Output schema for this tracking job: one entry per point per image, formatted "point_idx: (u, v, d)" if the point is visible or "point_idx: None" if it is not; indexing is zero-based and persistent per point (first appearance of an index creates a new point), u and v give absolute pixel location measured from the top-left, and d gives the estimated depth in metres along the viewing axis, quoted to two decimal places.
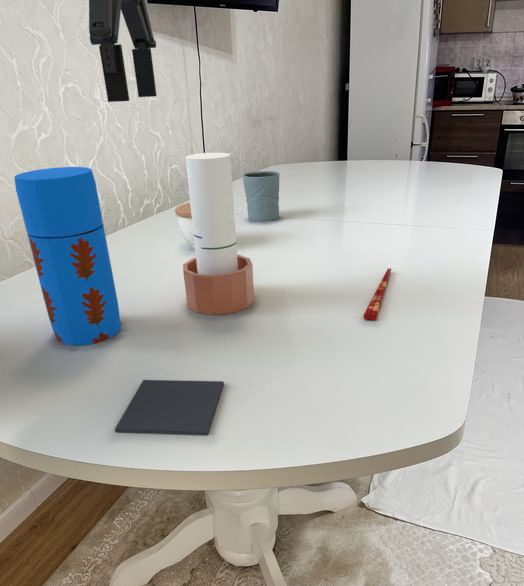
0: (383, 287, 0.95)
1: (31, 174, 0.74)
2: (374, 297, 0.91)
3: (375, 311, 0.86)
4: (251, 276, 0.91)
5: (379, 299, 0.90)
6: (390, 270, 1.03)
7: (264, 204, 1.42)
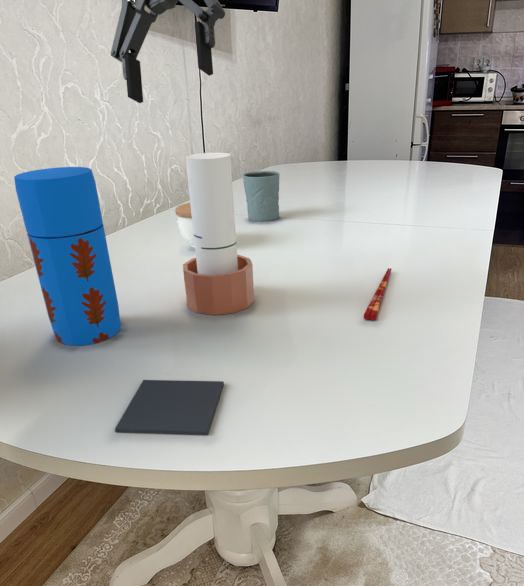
0: (383, 287, 0.95)
1: (31, 174, 0.74)
2: (374, 297, 0.91)
3: (375, 311, 0.86)
4: (251, 276, 0.91)
5: (379, 299, 0.90)
6: (390, 270, 1.03)
7: (264, 204, 1.42)
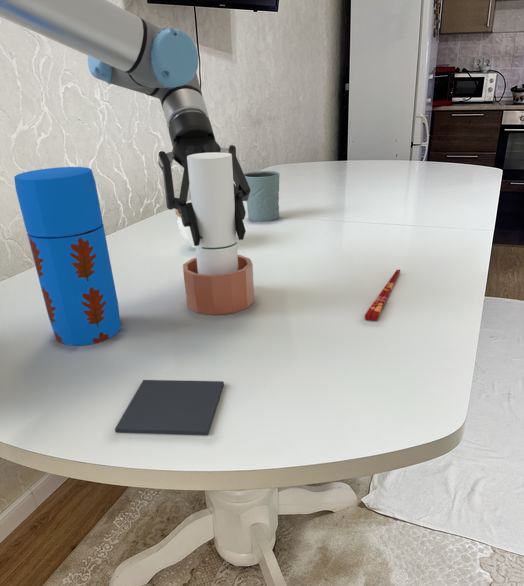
0: (389, 288, 0.95)
1: (31, 174, 0.74)
2: (378, 298, 0.91)
3: (377, 312, 0.86)
4: (251, 276, 0.91)
5: (383, 300, 0.90)
6: (399, 271, 1.03)
7: (264, 204, 1.42)
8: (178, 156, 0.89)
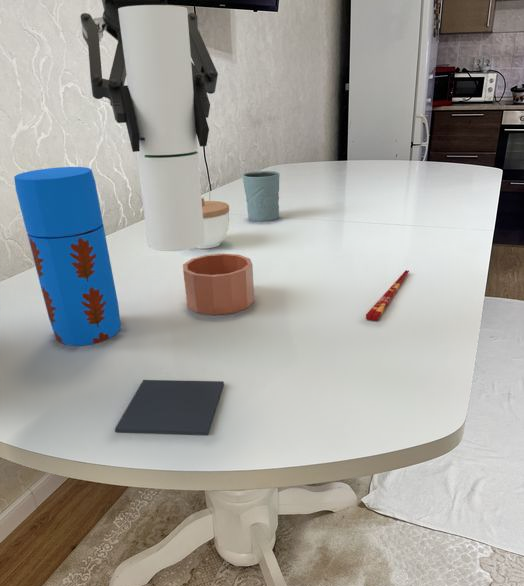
0: (394, 289, 0.95)
1: (31, 174, 0.74)
2: (382, 298, 0.91)
3: (378, 312, 0.85)
4: (251, 276, 0.91)
5: (386, 300, 0.90)
6: (407, 272, 1.02)
7: (264, 204, 1.42)
8: (111, 23, 0.60)
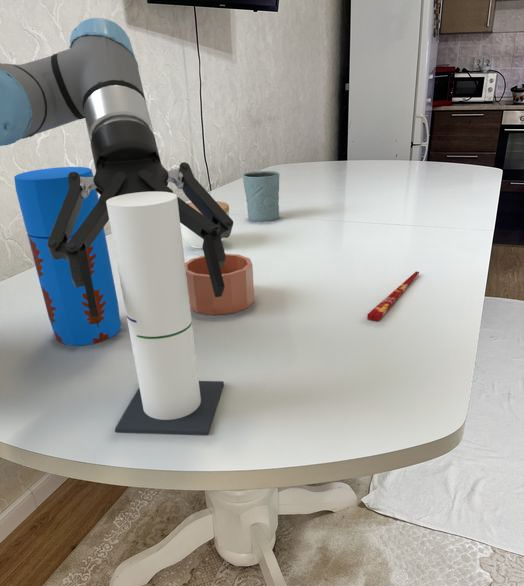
0: (400, 290, 0.94)
1: (31, 174, 0.74)
2: (386, 299, 0.90)
3: (380, 312, 0.85)
4: (251, 276, 0.91)
5: (390, 301, 0.89)
6: (417, 273, 1.01)
7: (264, 204, 1.42)
8: (98, 186, 0.58)
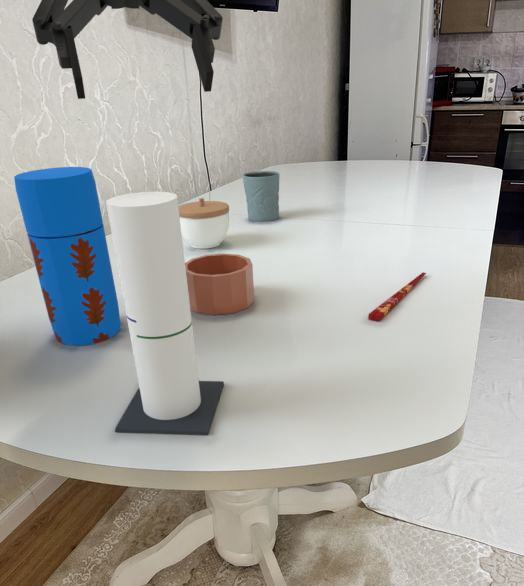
0: (405, 290, 0.94)
1: (31, 174, 0.74)
2: (389, 299, 0.90)
3: (381, 312, 0.85)
4: (251, 276, 0.91)
5: (393, 301, 0.89)
6: (423, 274, 1.01)
7: (264, 204, 1.42)
8: None
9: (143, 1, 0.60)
